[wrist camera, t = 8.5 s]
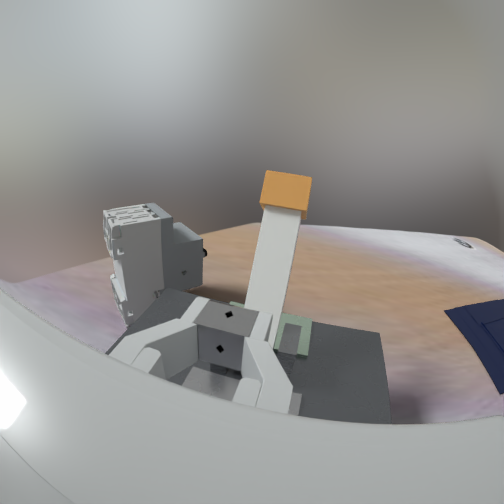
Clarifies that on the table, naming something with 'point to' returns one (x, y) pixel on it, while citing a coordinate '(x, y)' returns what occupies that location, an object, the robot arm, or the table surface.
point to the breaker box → (296, 365)
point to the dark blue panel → (484, 334)
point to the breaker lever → (277, 243)
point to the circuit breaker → (149, 256)
